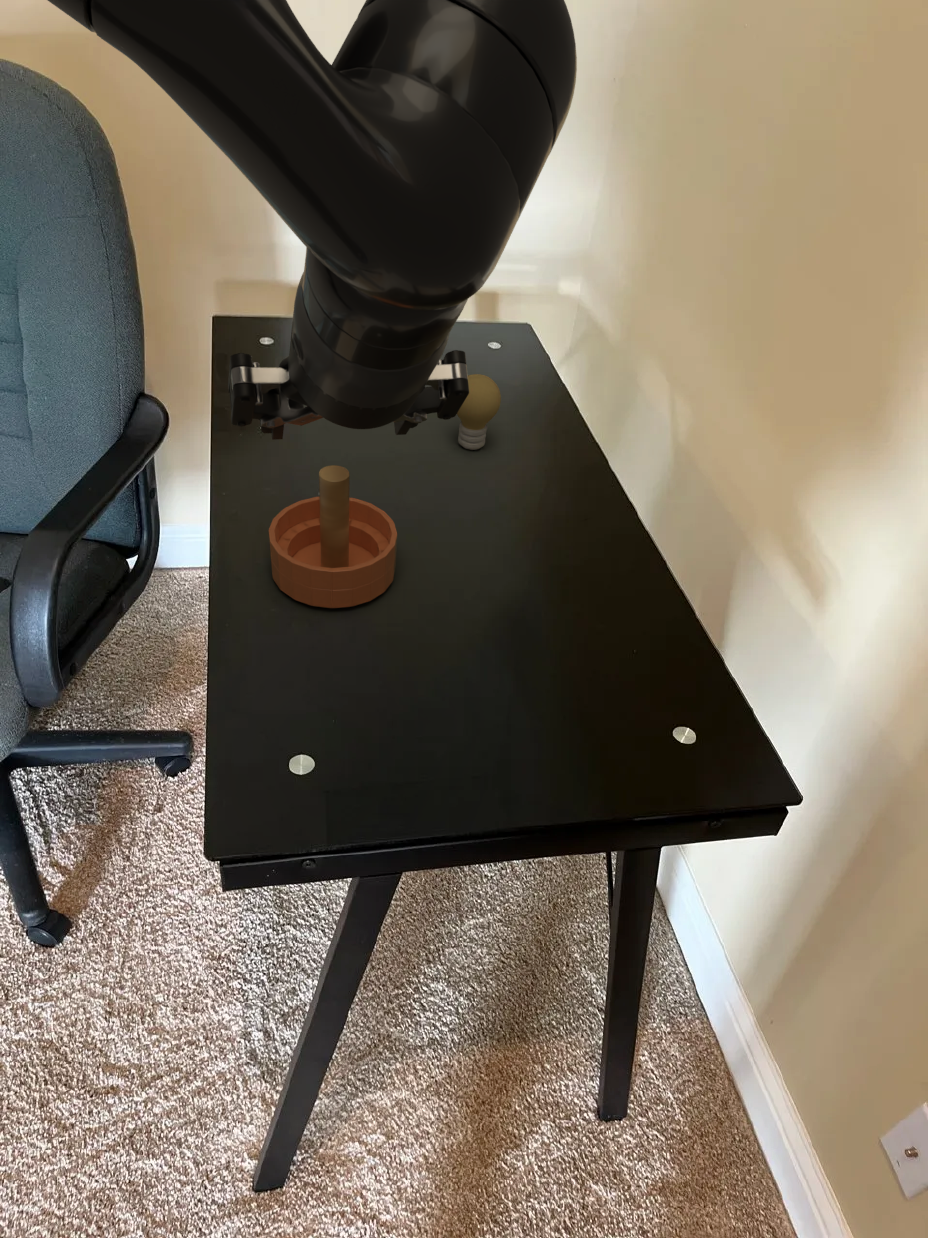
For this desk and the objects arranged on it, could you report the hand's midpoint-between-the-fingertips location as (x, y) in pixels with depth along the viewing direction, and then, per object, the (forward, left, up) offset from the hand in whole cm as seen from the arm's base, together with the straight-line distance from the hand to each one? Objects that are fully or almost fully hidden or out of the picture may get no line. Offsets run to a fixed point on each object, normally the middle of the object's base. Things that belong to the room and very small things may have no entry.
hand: (337, 423), depth 57 cm
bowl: (+2, +19, -29) cm, 34 cm away
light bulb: (+24, +44, -29) cm, 58 cm away
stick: (+2, +19, -28) cm, 34 cm away
